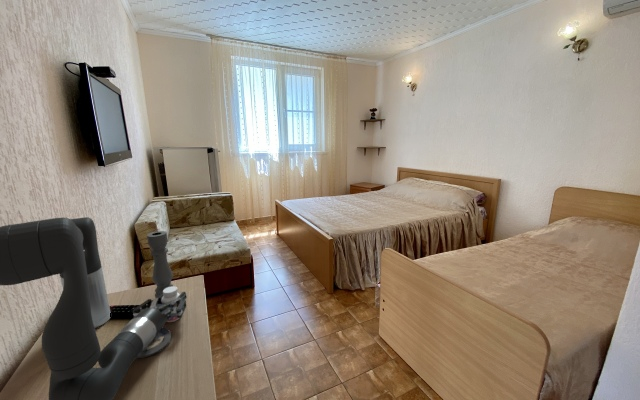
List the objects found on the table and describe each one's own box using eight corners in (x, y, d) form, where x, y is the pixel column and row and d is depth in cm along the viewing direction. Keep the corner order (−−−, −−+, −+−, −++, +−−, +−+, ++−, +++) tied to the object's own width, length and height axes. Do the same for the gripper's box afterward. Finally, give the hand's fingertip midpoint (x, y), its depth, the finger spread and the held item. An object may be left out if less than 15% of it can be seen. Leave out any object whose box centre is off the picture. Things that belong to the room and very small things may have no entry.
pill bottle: (174, 323, 80) (170, 295, 78) (159, 321, 81) (155, 293, 79) (186, 312, 85) (183, 286, 83) (172, 310, 86) (169, 284, 84)
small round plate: (119, 353, 69) (118, 349, 68) (153, 328, 78) (153, 325, 78) (146, 363, 66) (146, 359, 65) (179, 336, 75) (179, 332, 74)
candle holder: (161, 296, 95) (151, 231, 89) (179, 295, 95) (170, 230, 90) (152, 306, 89) (141, 237, 83) (171, 305, 89) (162, 236, 84)
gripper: (167, 317, 67) (196, 283, 84) (110, 318, 67) (151, 283, 83) (170, 342, 69) (198, 304, 85) (115, 343, 68) (154, 304, 85)
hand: (175, 294), depth 84 cm, fingers closed on pill bottle, 5 cm apart
